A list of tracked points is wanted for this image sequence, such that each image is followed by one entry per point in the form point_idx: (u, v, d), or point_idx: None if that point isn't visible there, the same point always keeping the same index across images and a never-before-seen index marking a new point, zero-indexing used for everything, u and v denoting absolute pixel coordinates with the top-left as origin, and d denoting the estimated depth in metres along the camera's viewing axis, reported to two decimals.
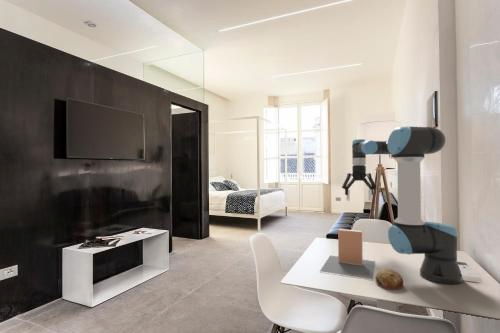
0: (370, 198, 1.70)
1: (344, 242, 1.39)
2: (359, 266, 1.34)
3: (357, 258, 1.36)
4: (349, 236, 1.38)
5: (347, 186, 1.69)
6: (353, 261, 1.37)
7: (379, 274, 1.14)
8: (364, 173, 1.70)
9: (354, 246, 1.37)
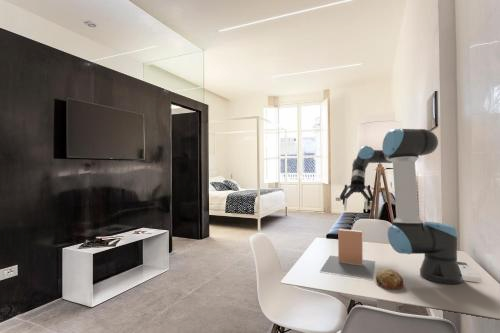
0: None
1: (344, 242, 1.39)
2: (359, 266, 1.34)
3: (357, 258, 1.36)
4: (349, 236, 1.38)
5: (344, 196, 1.60)
6: (353, 261, 1.37)
7: (379, 274, 1.14)
8: (363, 184, 1.61)
9: (354, 246, 1.37)
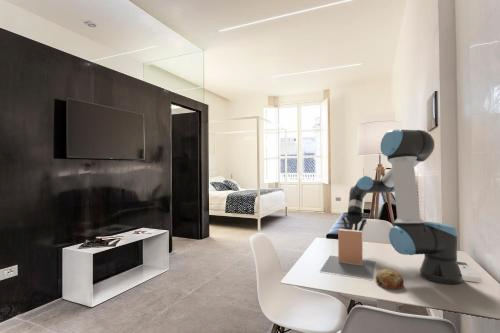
0: None
1: (344, 242, 1.39)
2: (359, 266, 1.34)
3: (357, 258, 1.36)
4: (349, 236, 1.38)
5: None
6: (353, 261, 1.37)
7: (379, 274, 1.14)
8: (360, 216, 1.55)
9: (354, 246, 1.37)
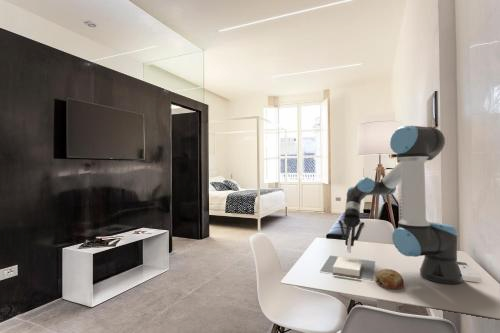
0: (348, 247, 1.37)
1: None
2: None
3: None
4: None
5: (346, 235, 1.42)
6: None
7: (379, 274, 1.14)
8: (358, 218, 1.47)
9: None
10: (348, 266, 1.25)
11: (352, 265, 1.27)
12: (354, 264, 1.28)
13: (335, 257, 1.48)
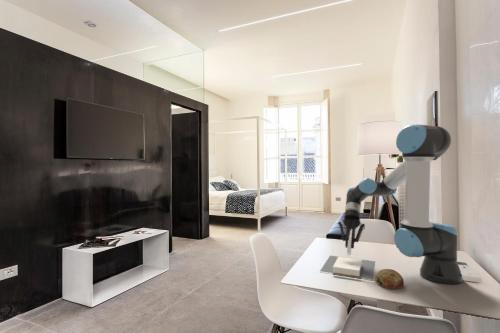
0: (348, 249, 1.33)
1: None
2: None
3: None
4: None
5: (346, 237, 1.39)
6: None
7: (380, 274, 1.15)
8: (358, 220, 1.43)
9: None
10: (348, 266, 1.25)
11: (352, 265, 1.27)
12: (354, 264, 1.28)
13: (335, 257, 1.48)
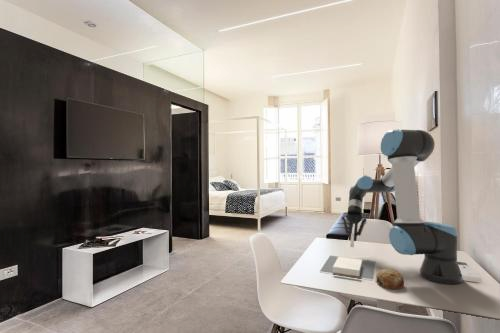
0: (351, 242, 1.45)
1: None
2: None
3: None
4: None
5: (349, 230, 1.51)
6: None
7: (380, 274, 1.15)
8: (360, 215, 1.55)
9: None
10: (348, 266, 1.25)
11: (352, 265, 1.27)
12: (354, 264, 1.28)
13: (335, 257, 1.48)
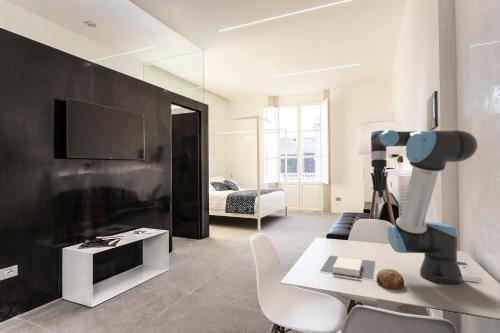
0: (377, 201, 1.52)
1: None
2: None
3: None
4: None
5: None
6: None
7: (380, 274, 1.15)
8: (380, 168, 1.49)
9: None
10: (348, 266, 1.25)
11: (352, 265, 1.27)
12: (354, 264, 1.28)
13: (335, 257, 1.48)
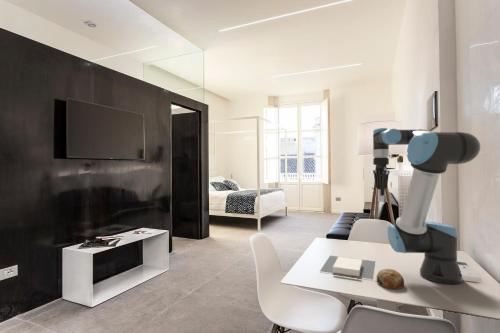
0: (379, 199, 1.51)
1: None
2: None
3: None
4: None
5: None
6: None
7: (380, 274, 1.15)
8: (382, 166, 1.48)
9: None
10: (348, 266, 1.25)
11: (352, 265, 1.27)
12: (354, 264, 1.28)
13: (335, 257, 1.48)
